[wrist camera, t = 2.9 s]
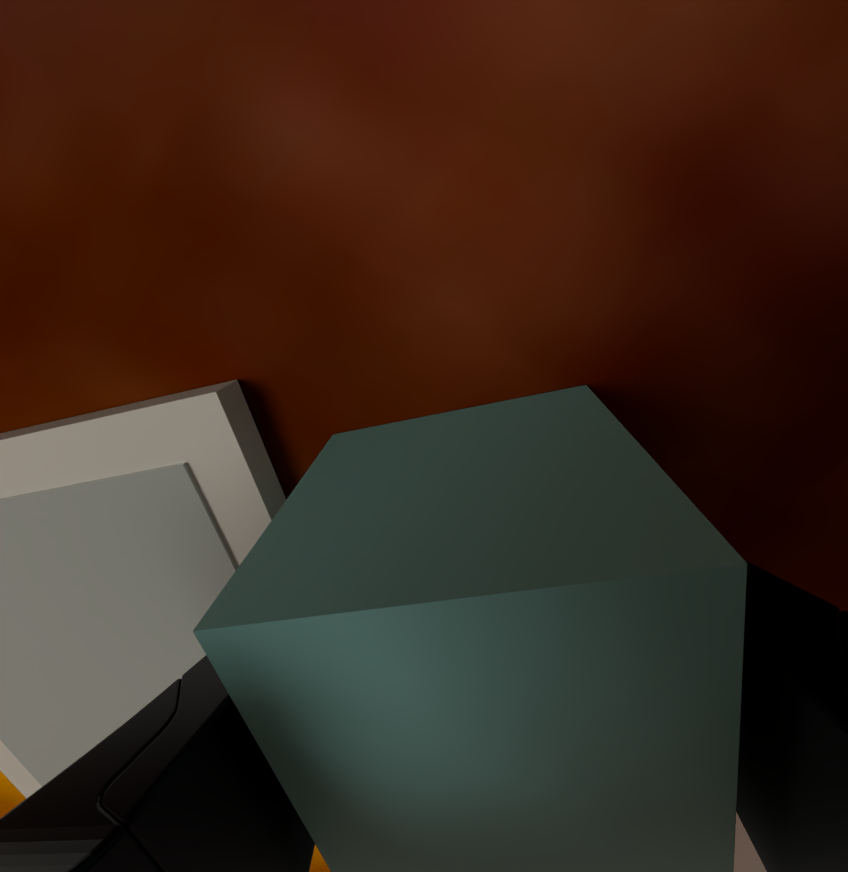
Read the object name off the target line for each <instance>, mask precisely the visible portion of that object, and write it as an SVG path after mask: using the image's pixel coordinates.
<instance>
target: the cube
mask: <svg viewBox="0 0 848 872" xmlns="http://www.w3.org/2000/svg"><path fill="white" fill-rule="evenodd" d="M746 579H747V563H746V562H745V560H744V559H743V558H742V557H741V556H740V555H739V554H738V553H737V552H736V550H735V549H734V548H733V547H732V546H731V545H730V544H729V543H728V542H727V540H726V539H725V538H724V537H723V536H722V535H721V534H720V533H719V532H718V530H717V529H716V528H715V527H714V526H713V525H712V524H711V523H710V522H709V520H708V519H707V518H706V517H705V516H704V515H703V514H702V513H701V512H700V511H699V509H698V508H697V507H696V506H695V505H694V504H693V503H692V502H691V501H690V499H689V498H688V497H687V496H686V495H685V494H684V493H683V492H682V491H681V489H680V488H679V487H678V486H677V485H676V484H675V483H674V482H673V481H672V479H671V478H670V477H669V476H668V475H667V474H666V473H665V472H664V471H663V469H662V468H661V467H660V466H659V465H658V464H657V463H656V462H655V461H654V460H653V458H652V457H651V456H650V455H649V454H648V453H647V452H646V451H645V450H644V448H643V447H642V446H641V445H640V444H639V443H638V442H637V441H636V440H635V438H634V437H633V436H632V435H631V434H630V433H629V432H628V431H627V430H626V428H625V427H624V426H623V425H622V424H621V423H620V422H619V421H618V420H617V418H616V417H615V416H614V415H613V414H612V413H611V412H610V411H609V410H608V408H607V407H606V406H605V405H604V404H603V403H602V402H601V401H600V400H599V399H598V397H597V396H596V395H595V394H594V393H593V392H592V391H591V390H590V389H589V387H588V386H587V385H582V386H577V387H572V388H567V389H562V390H557V391H552V392H547V393H542V394H537V395H532V396H526V397H521V398H516V399H511V400H506V401H501V402H496V403H491V404H486V405H481V406H476V407H471V408H465V409H460V410H455V411H450V412H445V413H440V414H435V415H430V416H425V417H420V418H415V419H409V420H404V421H399V422H394V423H389V424H384V425H379V426H374V427H369V428H364V429H359V430H354V431H348V432H343V433H338V434H333V435H332V437H331V438H330V440H329V441H328V442H327V444H326V445H325V447H324V448H323V449H322V451H321V452H320V454H319V455H318V456H317V458H316V459H315V461H314V462H313V463H312V465H311V466H310V468H309V469H308V470H307V472H306V473H305V475H304V476H303V477H302V479H301V480H300V482H299V483H298V484H297V486H296V487H295V489H294V490H293V491H292V493H291V494H290V496H289V497H288V498H287V500H286V501H285V503H284V504H283V505H282V507H281V508H280V510H279V511H278V512H277V514H276V515H275V517H274V518H273V519H272V521H271V522H270V524H269V525H268V526H267V528H266V529H265V531H264V532H263V533H262V535H261V536H260V538H259V539H258V540H257V542H256V543H255V545H254V546H253V547H252V549H251V550H250V552H249V553H248V554H247V556H246V557H245V559H244V560H243V561H242V563H241V564H240V566H239V567H238V568H237V570H236V571H235V573H234V574H233V575H232V577H231V578H230V580H229V581H228V582H227V584H226V585H225V587H224V588H223V589H222V591H221V592H220V594H219V595H218V596H217V598H216V599H215V601H214V602H213V603H212V605H211V606H210V608H209V609H208V610H207V612H206V613H205V615H204V616H203V617H202V619H201V620H200V622H199V623H198V624H197V626H196V627H195V629H194V630H193V633H194V634H195V636H196V638H197V640H198V641H199V643H200V645H201V647H202V648H203V650H204V652H205V654H206V655H207V657H208V659H209V660H210V662H211V664H212V666H213V667H214V669H215V671H216V673H217V674H218V676H219V678H220V680H221V681H222V683H223V685H224V687H225V688H226V690H227V692H228V693H229V695H230V697H231V699H232V700H233V702H234V704H235V706H236V707H237V709H238V711H239V713H240V714H241V716H242V718H243V719H244V721H245V723H246V725H247V726H248V728H249V730H250V732H251V733H252V735H253V737H254V739H255V740H256V742H257V744H258V745H259V747H260V749H261V751H262V752H263V754H264V756H265V758H266V759H267V761H268V763H269V765H270V766H271V768H272V770H273V771H274V773H275V775H276V777H277V778H278V780H279V782H280V784H281V785H282V787H283V789H284V791H285V792H286V794H287V796H288V798H289V799H290V801H291V803H292V804H293V806H294V808H295V810H296V811H297V813H298V815H299V817H300V818H301V820H302V822H303V824H304V825H305V827H306V829H307V830H308V832H309V834H310V836H311V837H312V839H313V841H314V843H315V844H316V846H317V848H318V850H319V851H320V853H321V855H322V856H323V858H324V860H325V862H326V863H327V865H328V867H329V869H330V870H331V872H733V868H734V847H735V846H734V845H735V824H736V802H737V780H738V758H739V735H740V713H741V691H742V668H743V646H744V624H745V602H746Z"/></svg>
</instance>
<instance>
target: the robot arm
mask: <svg viewBox="0 0 848 872" xmlns="http://www.w3.org/2000/svg"><path fill="white" fill-rule="evenodd" d="M745 562H746V563H747V579H746V602H745V624H744V646H743V668H742V691H741V713H740V735H739V758H738V780H737V802H736V812H737V814H738V815H739V818H740V820H741V822H742V824H743V826H744V828H745V830H746V831H747V833H748V835H749V837H750V839H751V841H752V843H753V845H754V847H755V849H756V851H757V853H758V855H759V857H760V859H761V861H762V863H763V865H764V866H765V869H766V870H767V872H848V612H847V611H841V612H840V610H839V608H838V607H836V606H834V605H832V604H830V603H828V602H826V601H825V600H823V599H821V598H819V597H817V596H815V595H813V594H811V593H809V592H807V591H805V590H803V589H801V588H799V587H797V586H795V585H793V584H791V583H789V582H787V581H785V580H783V579H781V578H779V577H777V576H775V575H773V574H771V573H769V572H767V571H765V570H763V569H761V568H759V567H757V566H755V565H753V564H751V563H749V562H747V561H745ZM314 846H315V843H314V841H313V839H312V837H311V836H310V834H309V832H308V830H307V829H306V827H305V825H304V824H303V822H302V820H301V818H300V817H299V815H298V813H297V811H296V810H295V808H294V806H293V804H292V803H291V801H290V799H289V798H288V796H287V794H286V792H285V791H284V789H283V787H282V785H281V784H280V782H279V780H278V778H277V777H276V775H275V773H274V771H273V770H272V768H271V766H270V765H269V763H268V761H267V759H266V758H265V756H264V754H263V752H262V751H261V749H260V747H259V745H258V744H257V742H256V740H255V739H254V737H253V735H252V733H251V732H250V730H249V728H248V726H247V725H246V723H245V721H244V719H243V718H242V716H241V714H240V713H239V711H238V709H237V707H236V706H235V704H234V702H233V700H232V699H231V697H230V695H229V693H228V692H227V690H226V688H225V687H224V685H223V683H222V681H221V680H220V678H219V676H218V674H217V673H216V671H215V669H214V667H213V666H212V664H211V662H210V660H209V659H208V657H207V655H205V656H204V657H203V658H202V659H201V660H200V661H198V662H197V663H196V664H195V665H194V666H192V667H191V668H190V669H189V670H188V671H187V672H185V673H184V674H183V675H182V679H177V680H176V681H175V682H173V683H172V684H171V685H170V686H169V687H168V688H166V689H165V690H164V691H163V692H162V693H161V694H159V695H158V696H157V697H156V698H155V699H153V700H152V701H151V702H150V703H148V704H147V705H146V706H145V707H144V708H142V709H141V710H140V711H139V712H138V713H136V714H135V715H134V716H133V717H131V718H130V719H129V720H128V721H127V722H125V723H124V724H123V725H122V726H120V727H119V728H118V729H116V730H115V731H114V732H113V733H111V734H110V735H109V736H107V737H106V738H105V739H104V740H102V741H101V742H100V743H98V744H97V745H96V746H95V747H93V748H92V749H91V750H89V751H88V752H87V753H86V754H84V755H83V756H82V757H80V758H79V759H78V760H76V761H75V762H74V763H72V764H71V765H70V766H69V767H67V768H66V769H65V770H63V771H62V772H61V773H59V774H58V775H57V776H55V777H54V778H53V779H52V780H50V781H49V782H48V783H46V784H45V785H44V786H42V787H41V788H40V789H38V790H37V791H36V792H35V793H33V794H32V795H31V796H29V797H28V798H27V799H25V800H24V801H23V802H21V803H20V804H19V805H18V806H16V807H15V808H14V809H12V810H11V811H10V812H8V813H7V814H6V815H4V816H3V817H2V818H1V819H0V872H309V869H310V864H311V860H312V855H313V851H314Z"/></svg>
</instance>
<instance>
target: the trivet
mask: <svg viewBox="0 0 848 872" xmlns="http://www.w3.org/2000/svg"><path fill="white" fill-rule="evenodd" d="M285 501H286V498H285V495H284V493H283V491H282V488H281V486H280V483H279V481H278V478H277V476H276V473H275V471H274V469H273V466H272V464H271V461H270V459H269V456H268V454H267V451H266V449H265V447H264V444H263V442H262V439H261V437H260V434H259V432H258V429H257V427H256V425H255V422H254V420H253V417H252V415H251V412H250V410H249V408H248V405H247V403H246V400H245V398H244V395H243V393H242V390H241V388H240V386H239V383H238V381H237V380H233V381H229V382H224V383H220V384H216V385H211V386H207V387H202V388H198V389H194V390H189V391H185V392H181V393H176V394H172V395H167V396H163V397H159V398H154V399H150V400H145V401H141V402H137V403H132V404H128V405H123V406H119V407H115V408H110V409H106V410H101V411H97V412H93V413H88V414H84V415H79V416H75V417H71V418H66V419H62V420H58V421H53V422H49V423H44V424H40V425H36V426H31V427H27V428H22V429H18V430H14V431H9V432H5V433H0V771H1V772H2V773H3V774H4V775H5V776H6V777H7V778H8V779H9V780H10V781H11V782H12V783H13V784H14V786H15V787H16V788H17V789H18V790H19V791H20V792H21V793H22V794H23V795H24V796H25V797H26V798H28V797H29V796H31V795H32V794H33V793H35V792H36V791H37V790H38V789H40V788H41V787H42V786H44V785H45V784H46V783H48V782H49V781H50V780H52V779H53V778H54V777H55V776H57V775H58V774H59V773H61V772H62V771H63V770H65V769H66V768H67V767H69V766H70V765H71V764H72V763H74V762H75V761H76V760H78V759H79V758H80V757H82V756H83V755H84V754H86V753H87V752H88V751H89V750H91V749H92V748H93V747H95V746H96V745H97V744H98V743H100V742H101V741H102V740H104V739H105V738H106V737H107V736H109V735H110V734H111V733H113V732H114V731H115V730H116V729H118V728H119V727H120V726H122V725H123V724H124V723H125V722H127V721H128V720H129V719H130V718H131V717H133V716H134V715H135V714H136V713H138V712H139V711H140V710H141V709H142V708H144V707H145V706H146V705H147V704H148V703H150V702H151V701H152V700H153V699H155V698H156V697H157V696H158V695H159V694H161V693H162V692H163V691H164V690H165V689H166V688H168V687H169V686H170V685H171V684H172V683H173V682H175V681H176V680H177V679H182V675H183V674H184V673H185V672H187V671H188V670H189V669H190V668H191V667H192V666H194V665H195V664H196V663H197V662H198V661H200V660H201V659H202V658H203V657H204V656H205V655H206V654H205V652H204V650H203V648H202V647H201V645H200V643H199V641H198V640H197V638H196V636H195V634H194V633H193V630H194V629H195V627H196V626H197V624H198V623H199V622H200V620H201V619H202V617H203V616H204V615H205V613H206V612H207V610H208V609H209V608H210V606H211V605H212V603H213V602H214V601H215V599H216V598H217V596H218V595H219V594H220V592H221V591H222V589H223V588H224V587H225V585H226V584H227V582H228V581H229V580H230V578H231V577H232V575H233V574H234V573H235V571H236V570H237V568H238V567H239V566H240V564H241V563H242V561H243V560H244V559H245V557H246V556H247V554H248V553H249V552H250V550H251V549H252V547H253V546H254V545H255V543H256V542H257V540H258V539H259V538H260V536H261V535H262V533H263V532H264V531H265V529H266V528H267V526H268V525H269V524H270V522H271V521H272V519H273V518H274V517H275V515H276V514H277V512H278V511H279V510H280V508H281V507H282V505H283V504H284V503H285Z"/></svg>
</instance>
